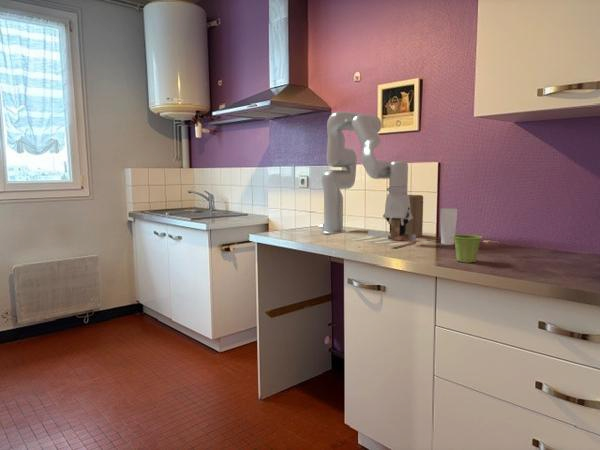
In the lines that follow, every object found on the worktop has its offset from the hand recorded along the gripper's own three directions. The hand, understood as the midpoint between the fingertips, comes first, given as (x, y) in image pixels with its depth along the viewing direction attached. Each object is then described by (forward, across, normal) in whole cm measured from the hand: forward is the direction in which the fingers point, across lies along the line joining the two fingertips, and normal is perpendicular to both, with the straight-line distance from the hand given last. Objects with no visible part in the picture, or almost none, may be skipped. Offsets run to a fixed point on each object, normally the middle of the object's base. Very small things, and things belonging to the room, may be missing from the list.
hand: (397, 233), depth 187 cm
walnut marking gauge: (+2, 0, 0) cm, 2 cm away
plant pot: (+5, +37, -18) cm, 41 cm away
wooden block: (+5, -3, +15) cm, 16 cm away
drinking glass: (+5, +17, +12) cm, 21 cm away
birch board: (+4, -5, -4) cm, 8 cm away
